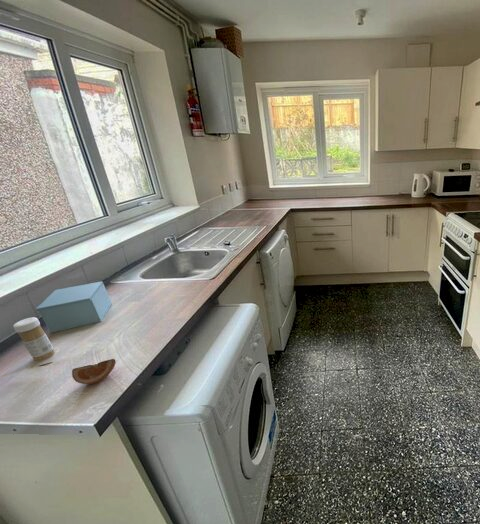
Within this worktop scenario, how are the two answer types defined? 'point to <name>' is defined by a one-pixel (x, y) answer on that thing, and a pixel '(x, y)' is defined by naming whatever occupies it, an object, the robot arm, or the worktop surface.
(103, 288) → the chest
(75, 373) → the fruit slice
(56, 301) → the lid
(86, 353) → the worktop surface
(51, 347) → the sprinkles bottle
